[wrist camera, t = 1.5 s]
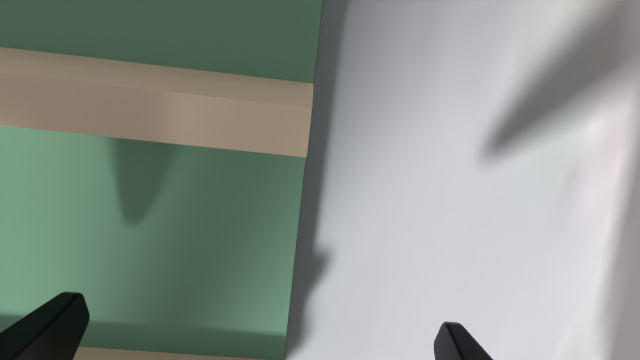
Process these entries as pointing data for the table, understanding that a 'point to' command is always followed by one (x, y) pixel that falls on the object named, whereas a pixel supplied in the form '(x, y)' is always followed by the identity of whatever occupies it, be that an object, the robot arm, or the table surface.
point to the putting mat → (156, 169)
